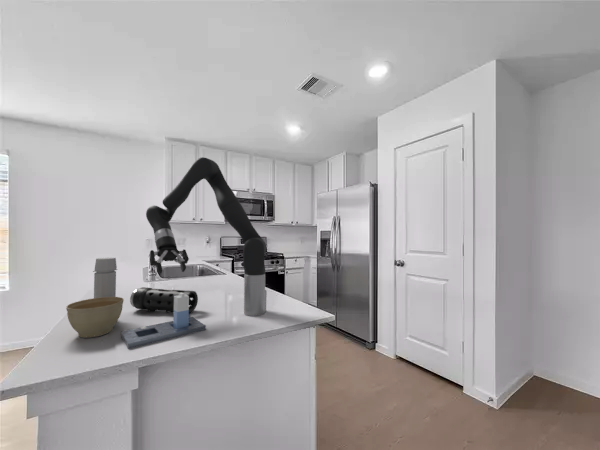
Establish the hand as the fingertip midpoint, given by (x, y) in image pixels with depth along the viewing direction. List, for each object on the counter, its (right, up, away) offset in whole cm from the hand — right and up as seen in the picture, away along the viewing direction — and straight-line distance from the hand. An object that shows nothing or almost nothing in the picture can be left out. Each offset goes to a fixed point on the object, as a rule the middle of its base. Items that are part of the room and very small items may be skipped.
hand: (172, 271), depth 107 cm
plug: (+7, -19, -9) cm, 23 cm away
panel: (+3, -20, -13) cm, 24 cm away
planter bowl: (-21, -20, -12) cm, 32 cm away
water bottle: (-28, -20, 0) cm, 34 cm away
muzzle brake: (-10, -21, +12) cm, 26 cm away
